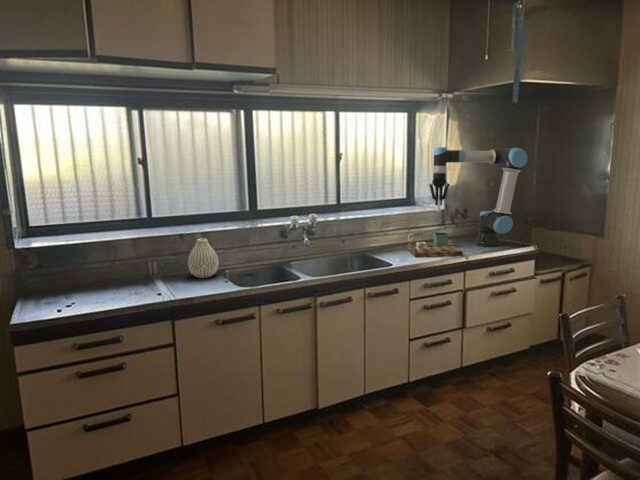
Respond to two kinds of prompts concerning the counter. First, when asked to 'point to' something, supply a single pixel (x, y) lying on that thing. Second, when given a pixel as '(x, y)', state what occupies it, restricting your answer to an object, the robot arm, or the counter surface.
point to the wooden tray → (435, 251)
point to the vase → (203, 259)
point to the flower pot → (441, 238)
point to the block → (421, 246)
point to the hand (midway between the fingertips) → (438, 210)
